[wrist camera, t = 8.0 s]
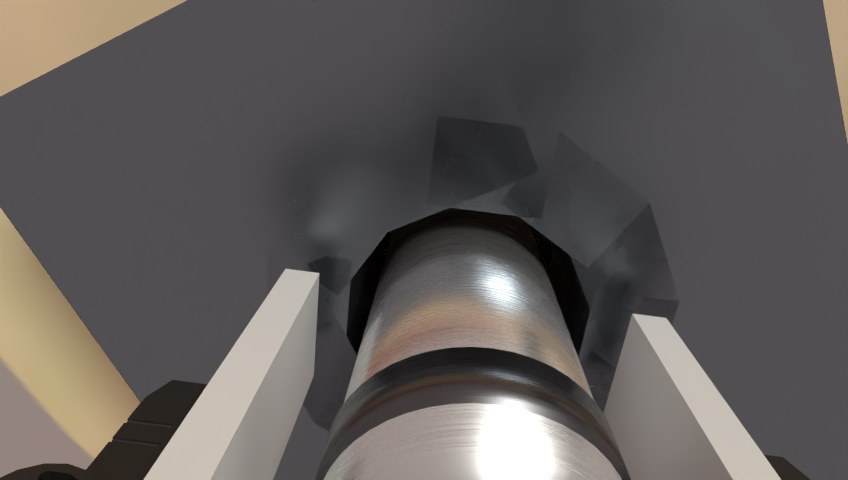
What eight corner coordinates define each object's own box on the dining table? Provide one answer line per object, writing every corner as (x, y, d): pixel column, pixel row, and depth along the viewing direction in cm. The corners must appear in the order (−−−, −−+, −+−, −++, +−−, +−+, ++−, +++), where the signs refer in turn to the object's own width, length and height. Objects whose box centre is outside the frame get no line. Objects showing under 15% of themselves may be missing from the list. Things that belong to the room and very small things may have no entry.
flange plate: (665, -194, 14) (770, -299, 9) (800, 378, 20) (907, 489, 15) (79, 97, 17) (-58, 126, 13) (340, 513, 23) (311, 639, 18)
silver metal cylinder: (396, 166, 18) (297, 420, 6) (548, 186, 18) (712, 474, 6) (382, 302, 19) (285, 686, 8) (521, 320, 19) (612, 728, 8)
